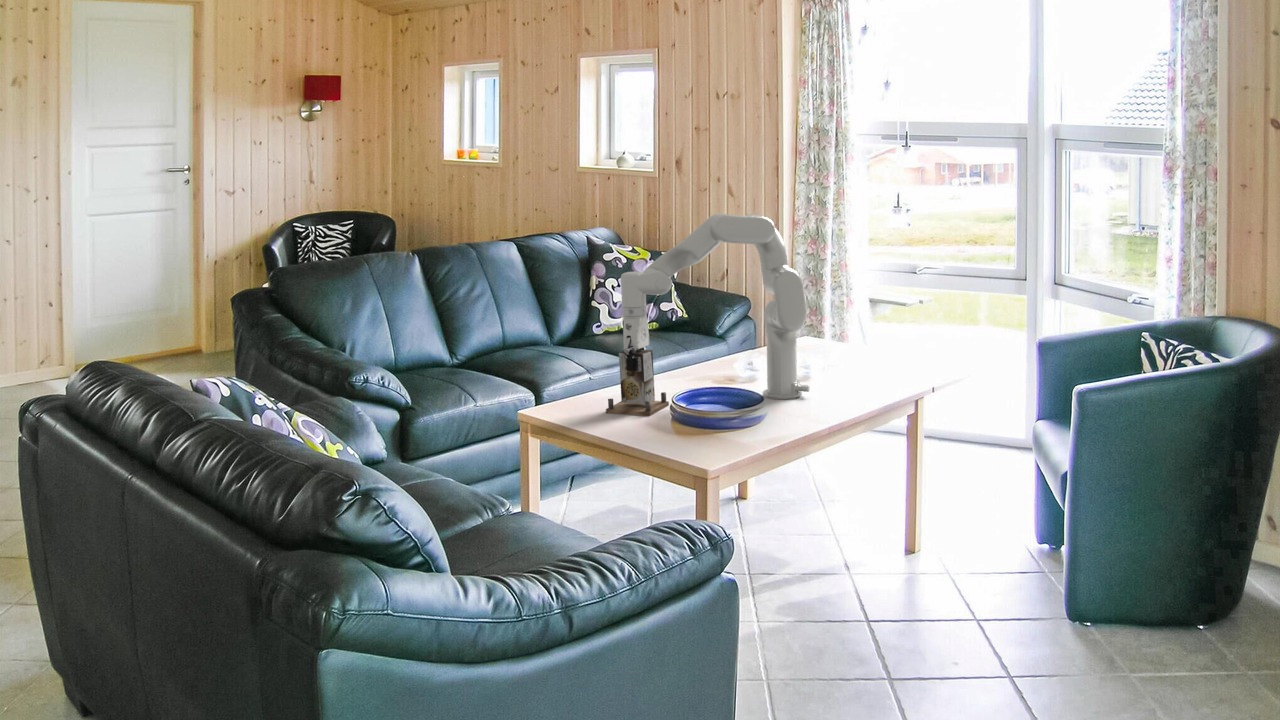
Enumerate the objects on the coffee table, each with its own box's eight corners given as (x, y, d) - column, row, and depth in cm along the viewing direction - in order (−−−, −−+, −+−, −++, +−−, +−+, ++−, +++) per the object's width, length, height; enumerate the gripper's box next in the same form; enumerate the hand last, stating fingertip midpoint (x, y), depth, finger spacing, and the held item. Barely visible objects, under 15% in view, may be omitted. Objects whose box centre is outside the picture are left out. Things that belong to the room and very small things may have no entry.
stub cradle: (668, 405, 383) (668, 392, 382) (650, 415, 369) (649, 402, 368) (625, 402, 389) (625, 389, 388) (606, 412, 375) (605, 399, 374)
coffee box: (655, 400, 379) (653, 349, 376) (645, 404, 374) (643, 353, 371) (630, 398, 384) (628, 348, 381) (620, 402, 378) (618, 351, 375)
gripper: (634, 316, 364) (636, 374, 367) (656, 307, 380) (658, 363, 383) (611, 316, 367) (614, 373, 370) (634, 307, 383) (637, 362, 386)
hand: (636, 367), depth 377 cm, fingers closed on coffee box, 6 cm apart
